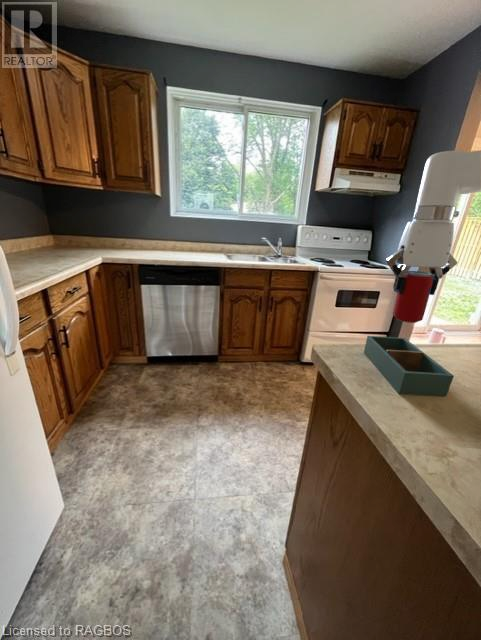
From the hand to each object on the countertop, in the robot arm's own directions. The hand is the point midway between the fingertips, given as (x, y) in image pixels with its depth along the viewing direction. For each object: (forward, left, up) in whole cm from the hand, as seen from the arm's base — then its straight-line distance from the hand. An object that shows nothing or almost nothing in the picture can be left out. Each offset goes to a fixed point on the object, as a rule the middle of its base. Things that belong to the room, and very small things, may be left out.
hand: (413, 292), depth 67 cm
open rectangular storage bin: (0, +4, -20) cm, 21 cm away
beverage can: (0, 0, -7) cm, 7 cm away
